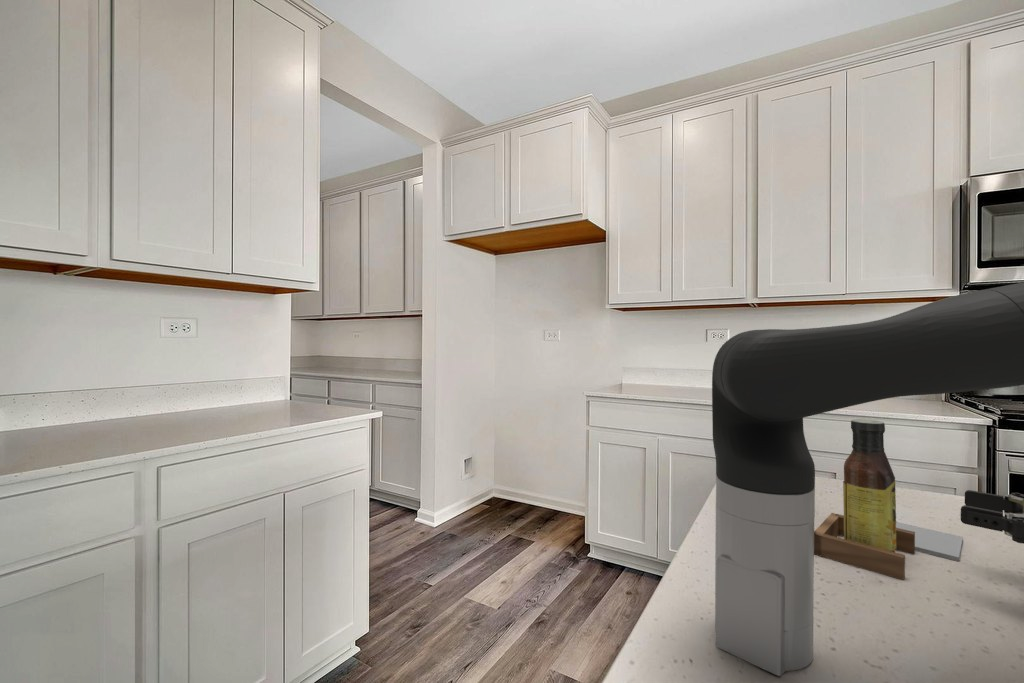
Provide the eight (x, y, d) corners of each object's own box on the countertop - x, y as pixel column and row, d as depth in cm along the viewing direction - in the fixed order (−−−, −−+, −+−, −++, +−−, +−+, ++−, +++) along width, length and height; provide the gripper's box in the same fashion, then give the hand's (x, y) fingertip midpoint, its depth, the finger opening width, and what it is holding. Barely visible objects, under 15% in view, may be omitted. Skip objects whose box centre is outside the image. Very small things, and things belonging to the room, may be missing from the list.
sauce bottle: (906, 566, 66) (907, 426, 66) (856, 562, 68) (857, 424, 67) (879, 546, 73) (881, 418, 72) (834, 542, 74) (836, 416, 74)
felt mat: (958, 561, 68) (958, 557, 68) (880, 541, 74) (880, 537, 74) (962, 540, 75) (962, 536, 75) (890, 524, 81) (890, 520, 81)
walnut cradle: (903, 580, 63) (903, 557, 63) (811, 553, 70) (812, 533, 70) (914, 551, 71) (915, 532, 71) (831, 530, 78) (831, 512, 78)
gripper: (1155, 494, 56) (965, 466, 68) (1188, 529, 46) (959, 489, 58) (1153, 557, 56) (965, 518, 68) (1186, 605, 46) (958, 550, 58)
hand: (962, 505), depth 63 cm, fingers open, 8 cm apart
